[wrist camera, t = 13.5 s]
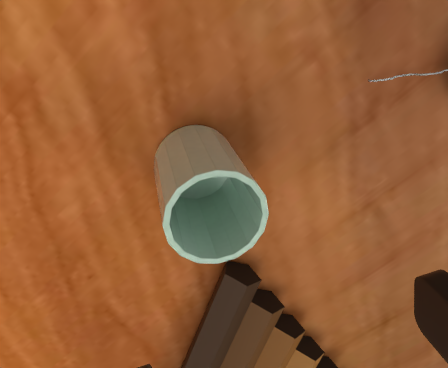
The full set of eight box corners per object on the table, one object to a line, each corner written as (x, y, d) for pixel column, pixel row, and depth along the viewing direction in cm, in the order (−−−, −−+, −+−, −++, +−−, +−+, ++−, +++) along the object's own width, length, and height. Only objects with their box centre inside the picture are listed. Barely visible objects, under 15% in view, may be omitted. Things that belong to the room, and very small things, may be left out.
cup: (225, 115, 31) (260, 158, 23) (239, 187, 34) (274, 247, 26) (144, 136, 30) (150, 187, 22) (165, 208, 33) (178, 275, 25)
